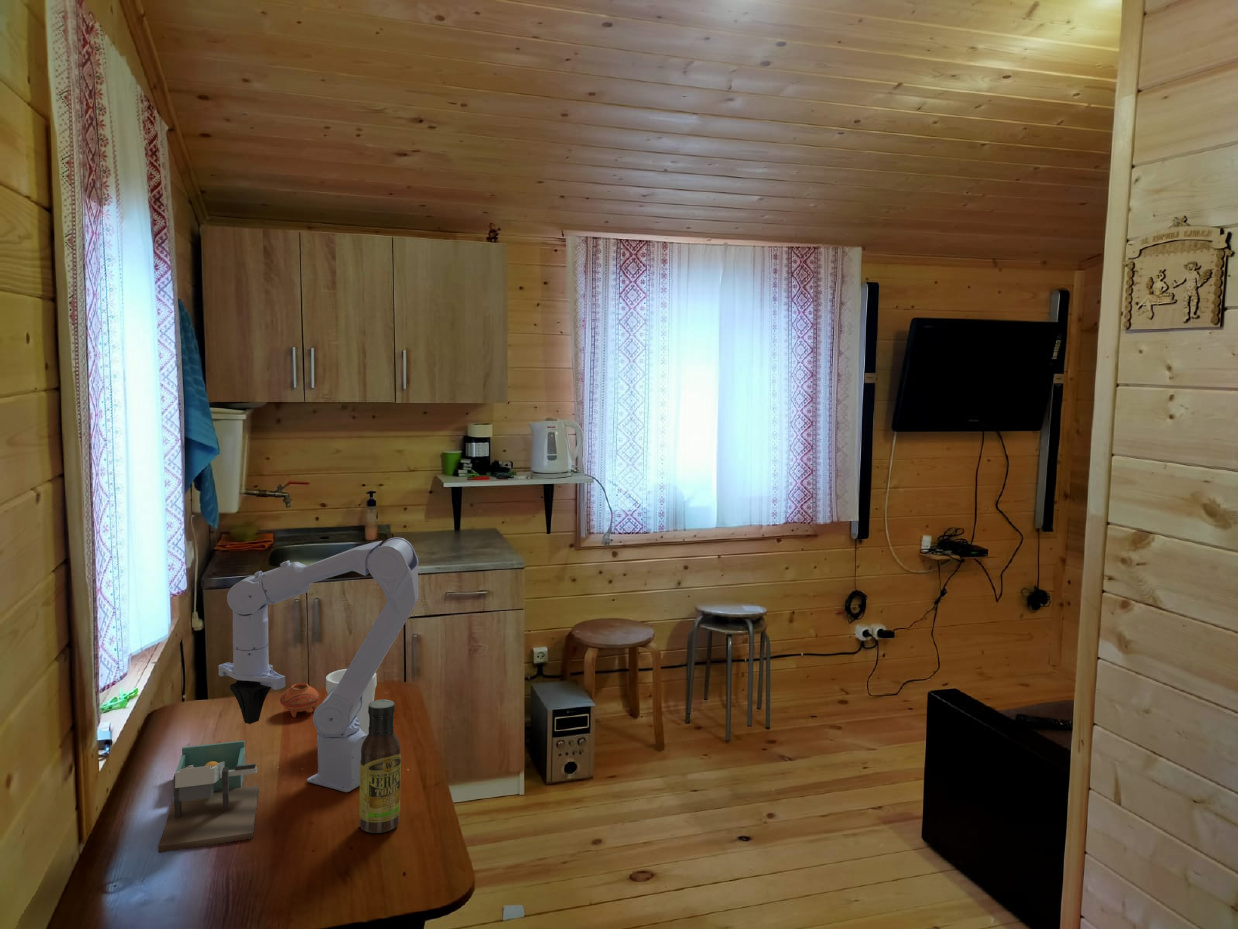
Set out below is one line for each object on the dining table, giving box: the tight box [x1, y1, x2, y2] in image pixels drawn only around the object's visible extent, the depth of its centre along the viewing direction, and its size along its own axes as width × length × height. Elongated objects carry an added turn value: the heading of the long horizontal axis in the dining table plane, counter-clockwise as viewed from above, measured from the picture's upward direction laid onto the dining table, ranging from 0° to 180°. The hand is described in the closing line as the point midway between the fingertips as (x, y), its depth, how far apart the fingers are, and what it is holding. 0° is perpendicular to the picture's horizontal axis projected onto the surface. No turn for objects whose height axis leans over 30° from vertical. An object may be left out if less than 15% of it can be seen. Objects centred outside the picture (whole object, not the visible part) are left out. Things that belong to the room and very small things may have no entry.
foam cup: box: [325, 668, 378, 735], centre depth 173 cm, size 10×9×13 cm
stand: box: [157, 767, 260, 853], centre depth 141 cm, size 17×13×8 cm
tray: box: [174, 761, 258, 801], centre depth 142 cm, size 16×11×5 cm, turn 19°
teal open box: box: [175, 739, 246, 791], centre depth 154 cm, size 10×10×5 cm
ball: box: [205, 761, 218, 768], centre depth 155 cm, size 3×3×3 cm
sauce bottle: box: [358, 698, 402, 834], centre depth 139 cm, size 6×6×20 cm
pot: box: [279, 682, 321, 718], centre depth 188 cm, size 8×8×7 cm
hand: (251, 721), depth 155 cm, fingers closed
